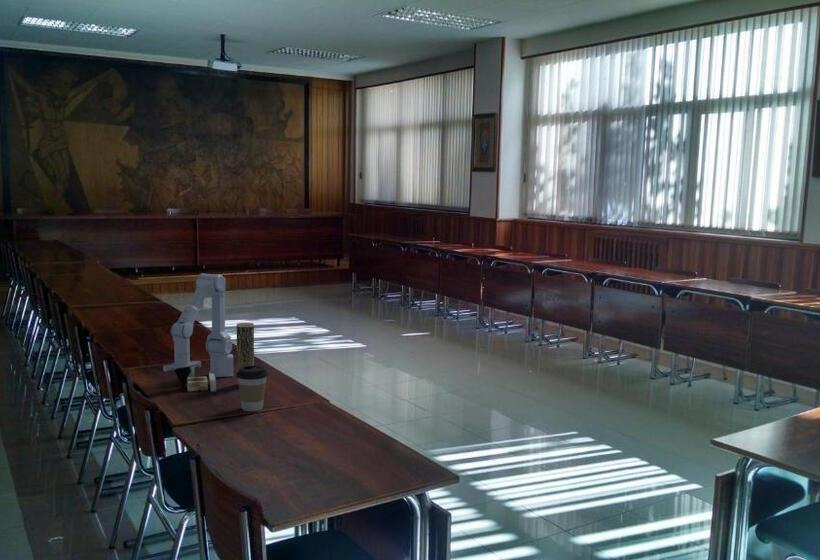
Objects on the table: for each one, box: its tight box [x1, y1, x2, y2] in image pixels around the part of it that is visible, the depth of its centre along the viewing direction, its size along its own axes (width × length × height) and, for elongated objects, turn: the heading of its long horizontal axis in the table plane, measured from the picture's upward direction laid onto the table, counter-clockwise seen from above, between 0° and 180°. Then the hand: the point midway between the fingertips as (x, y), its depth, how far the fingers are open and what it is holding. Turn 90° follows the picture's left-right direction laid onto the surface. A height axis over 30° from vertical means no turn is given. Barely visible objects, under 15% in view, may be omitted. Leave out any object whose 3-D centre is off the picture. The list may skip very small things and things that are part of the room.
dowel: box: [188, 367, 196, 378], centre depth 301 cm, size 3×3×8 cm
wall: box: [208, 373, 217, 392], centre depth 296 cm, size 2×12×4 cm, turn 18°
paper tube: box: [236, 322, 255, 387], centre depth 299 cm, size 7×7×25 cm
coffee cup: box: [235, 364, 269, 413], centre depth 269 cm, size 11×11×15 cm
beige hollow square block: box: [186, 376, 209, 392], centre depth 294 cm, size 8×8×4 cm
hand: (182, 386), depth 293 cm, fingers closed
